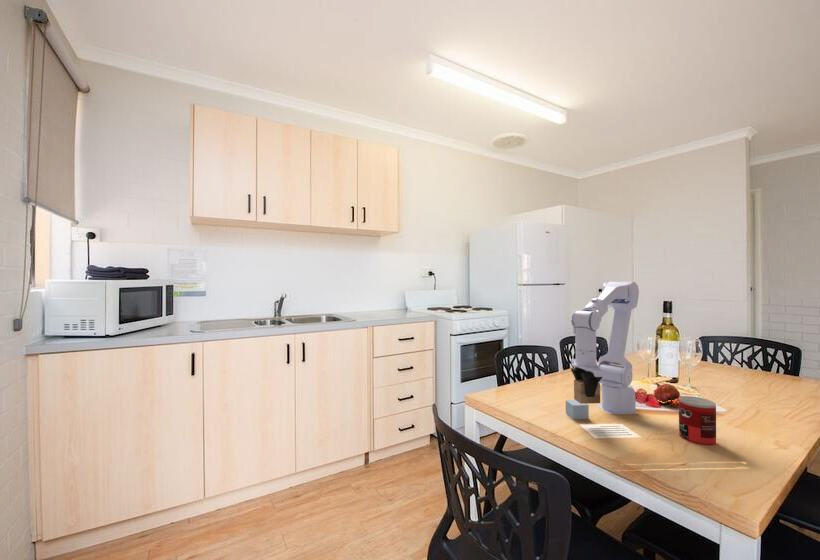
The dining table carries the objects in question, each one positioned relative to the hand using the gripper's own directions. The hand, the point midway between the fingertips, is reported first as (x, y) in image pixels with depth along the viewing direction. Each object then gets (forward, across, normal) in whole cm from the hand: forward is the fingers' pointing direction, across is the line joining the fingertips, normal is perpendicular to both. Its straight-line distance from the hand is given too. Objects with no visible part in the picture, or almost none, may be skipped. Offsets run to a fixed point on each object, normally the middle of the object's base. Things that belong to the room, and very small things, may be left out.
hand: (586, 394), depth 108 cm
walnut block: (+2, 0, 0) cm, 2 cm away
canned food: (+10, +12, +25) cm, 29 cm away
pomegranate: (+10, -15, +37) cm, 41 cm away
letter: (+9, +5, +4) cm, 11 cm away
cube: (+10, -6, 0) cm, 11 cm away
